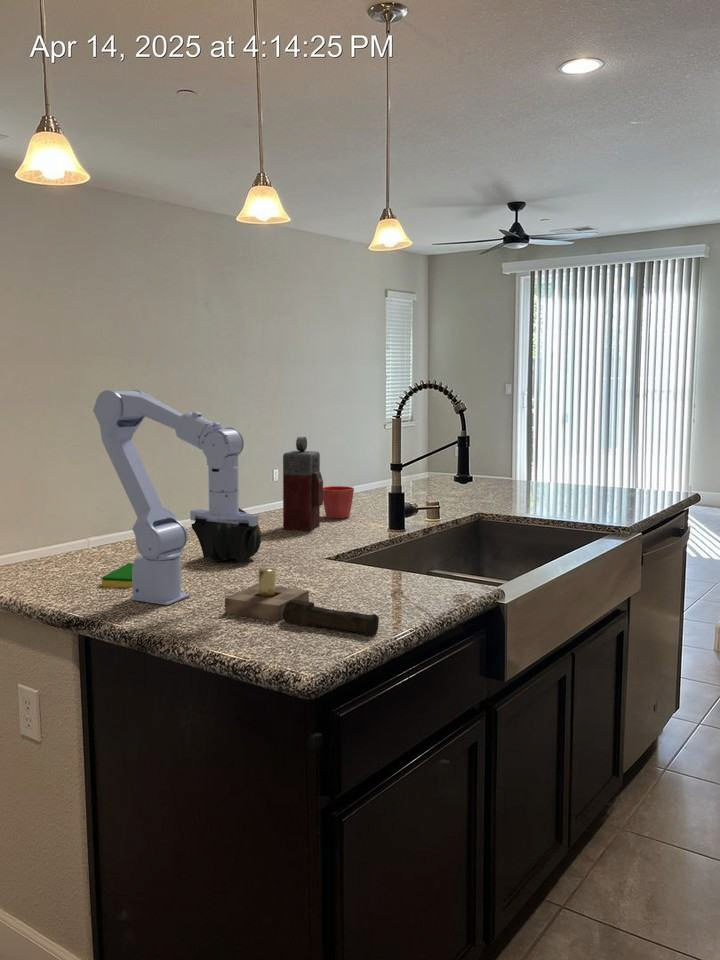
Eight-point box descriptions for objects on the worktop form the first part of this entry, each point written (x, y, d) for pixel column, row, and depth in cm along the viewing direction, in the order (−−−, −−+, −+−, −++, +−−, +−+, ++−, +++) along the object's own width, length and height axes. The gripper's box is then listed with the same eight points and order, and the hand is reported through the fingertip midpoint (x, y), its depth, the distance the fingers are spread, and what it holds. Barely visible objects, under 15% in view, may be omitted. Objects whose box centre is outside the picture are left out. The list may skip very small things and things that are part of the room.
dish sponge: (101, 588, 173) (100, 577, 172) (128, 573, 186) (128, 562, 186) (132, 589, 172) (132, 578, 172) (157, 574, 185) (156, 564, 185)
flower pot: (316, 515, 266) (316, 486, 265) (346, 513, 271) (346, 485, 270) (328, 520, 257) (328, 490, 255) (359, 518, 261) (359, 489, 260)
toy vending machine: (318, 531, 237) (318, 438, 234) (282, 529, 240) (282, 437, 236) (326, 526, 246) (327, 436, 242) (292, 524, 249) (292, 435, 245)
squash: (244, 547, 188) (256, 494, 197) (185, 546, 191) (199, 495, 200) (260, 575, 200) (271, 524, 208) (205, 574, 203) (217, 524, 211)
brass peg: (255, 610, 156) (255, 570, 155) (265, 606, 159) (265, 567, 158) (268, 612, 154) (268, 572, 153) (278, 608, 157) (278, 569, 156)
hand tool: (380, 633, 143) (380, 608, 143) (370, 639, 140) (371, 614, 139) (291, 618, 152) (291, 595, 151) (279, 624, 148) (279, 600, 147)
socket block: (225, 613, 154) (224, 598, 153) (257, 598, 164) (257, 583, 164) (279, 621, 149) (278, 605, 148) (308, 605, 160) (308, 590, 159)
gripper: (180, 490, 153) (181, 559, 155) (244, 495, 148) (245, 567, 149) (201, 486, 160) (202, 552, 162) (263, 491, 154) (264, 559, 156)
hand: (224, 559), depth 156 cm, fingers open, 7 cm apart
